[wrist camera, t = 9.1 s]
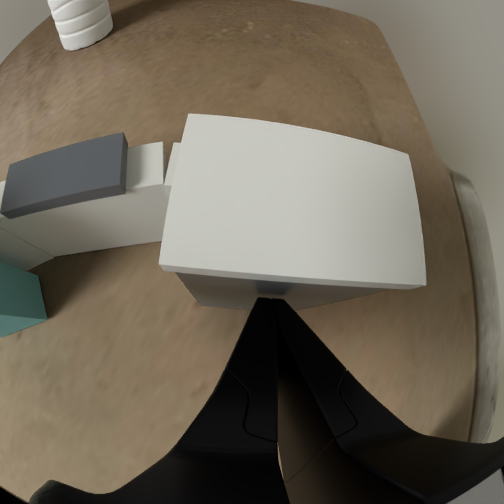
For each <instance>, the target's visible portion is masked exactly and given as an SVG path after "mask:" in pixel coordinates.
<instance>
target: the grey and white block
mask: <svg viewBox="0 0 504 504" xmlns="http://www.w3.org/2000/svg"><path fill="white" fill-rule="evenodd" d="M159 265H160V266H161V267H162V269H163V270H164V271H169V272H175V273H176V274H177V275H178V277H179V278H180V279H181V281H182V282H183V283H184V285H185V286H186V287H187V289H188V290H189V291H190V293H191V294H192V295H193V296H194V298H195V299H196V300H197V301H198V303H199V304H200V305H203V306H213V307H224V308H236V309H250V310H252V308H253V305H254V303H255V301H256V299H257V297H267V298H270V299H271V298H282V299H284V300H285V301H286V302H287V303H288V304H289V305H290V306H291V307H292V308H293V310H294V311H295V310H300V309H305V308H310V307H315V306H320V305H325V304H329V303H334V302H338V301H343V300H347V299H352V298H356V297H360V296H365V295H369V294H373V293H377V292H381V291H385V290H389V289H414V288H418V287H422V286H426V267H425V254H424V243H423V234H422V226H421V219H420V212H419V205H418V199H417V194H416V188H415V183H414V178H413V173H412V168H411V164H410V160H409V155H408V154H406V153H403V152H400V151H397V150H394V149H390V148H387V147H384V146H380V145H377V144H373V143H369V142H366V141H362V140H358V139H354V138H350V137H346V136H342V135H338V134H333V133H329V132H324V131H319V130H315V129H310V128H304V127H299V126H293V125H288V124H282V123H275V122H269V121H261V120H254V119H246V118H237V117H227V116H216V115H203V114H188V118H187V121H186V125H185V129H184V133H183V137H182V141H181V146H180V150H179V154H178V159H177V163H176V168H175V172H174V177H173V182H172V187H171V192H170V197H169V202H168V208H167V213H166V219H165V225H164V231H163V238H162V244H161V251H160V258H159Z"/></svg>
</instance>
